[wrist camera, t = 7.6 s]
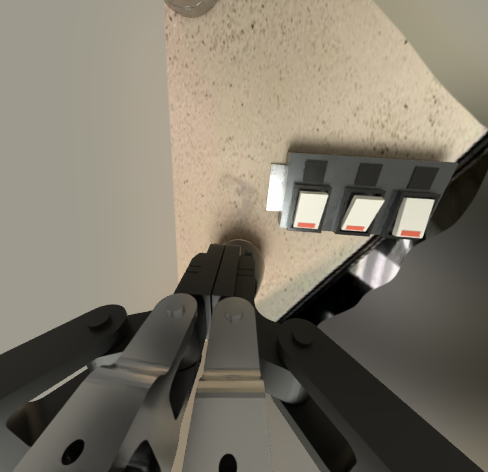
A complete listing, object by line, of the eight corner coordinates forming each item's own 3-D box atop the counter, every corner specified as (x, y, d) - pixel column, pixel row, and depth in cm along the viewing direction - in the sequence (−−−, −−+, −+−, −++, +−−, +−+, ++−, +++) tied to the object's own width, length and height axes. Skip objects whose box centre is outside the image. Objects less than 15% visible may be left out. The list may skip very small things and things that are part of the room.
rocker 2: (402, 197, 30) (407, 197, 29) (428, 199, 30) (435, 199, 29) (391, 234, 31) (396, 236, 30) (416, 236, 31) (422, 238, 30)
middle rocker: (354, 195, 29) (357, 199, 28) (381, 197, 29) (385, 201, 28) (339, 225, 33) (341, 230, 32) (363, 227, 33) (365, 231, 32)
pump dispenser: (261, 228, 38) (263, 275, 24) (266, 271, 42) (270, 333, 28) (211, 233, 39) (185, 281, 25) (220, 275, 43) (203, 335, 29)
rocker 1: (299, 190, 29) (301, 193, 28) (326, 192, 29) (328, 195, 28) (292, 224, 33) (293, 227, 32) (316, 225, 33) (317, 229, 32)
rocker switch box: (272, 151, 32) (275, 152, 27) (453, 162, 31) (483, 164, 27) (265, 219, 37) (266, 228, 33) (419, 230, 36) (440, 241, 32)
